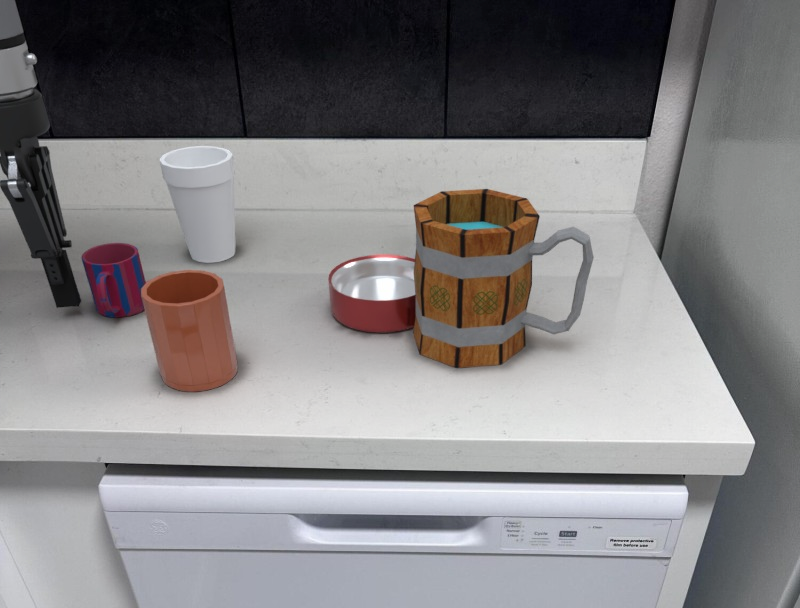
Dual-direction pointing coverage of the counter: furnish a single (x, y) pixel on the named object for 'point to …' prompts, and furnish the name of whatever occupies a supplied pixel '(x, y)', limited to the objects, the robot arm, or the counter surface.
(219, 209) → the foam cup
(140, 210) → the counter surface
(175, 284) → the tumbler
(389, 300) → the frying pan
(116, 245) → the cup
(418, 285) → the mug
